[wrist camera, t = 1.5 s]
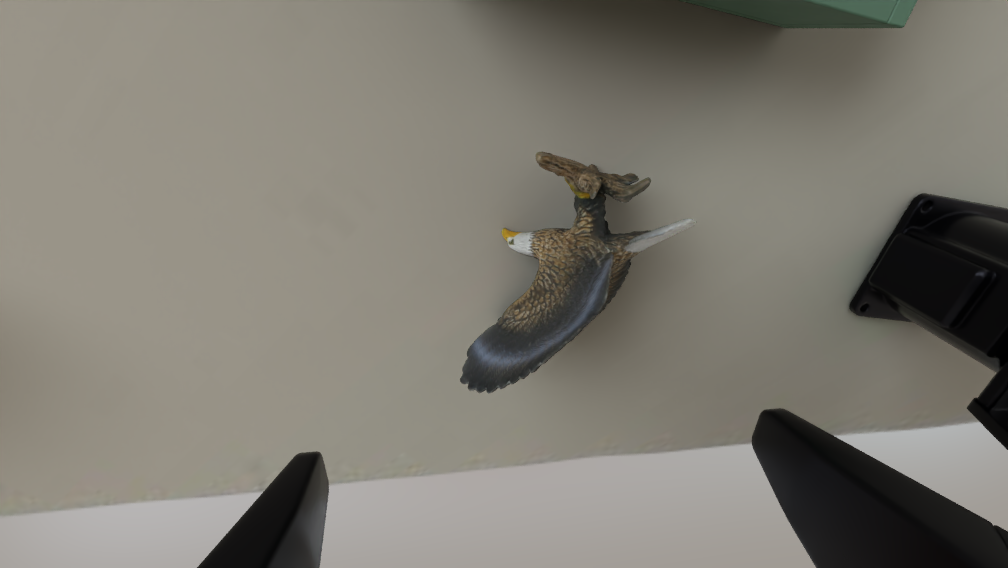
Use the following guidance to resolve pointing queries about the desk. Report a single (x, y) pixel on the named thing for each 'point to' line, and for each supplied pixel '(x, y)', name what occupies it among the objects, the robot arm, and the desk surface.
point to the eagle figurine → (562, 278)
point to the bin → (818, 12)
